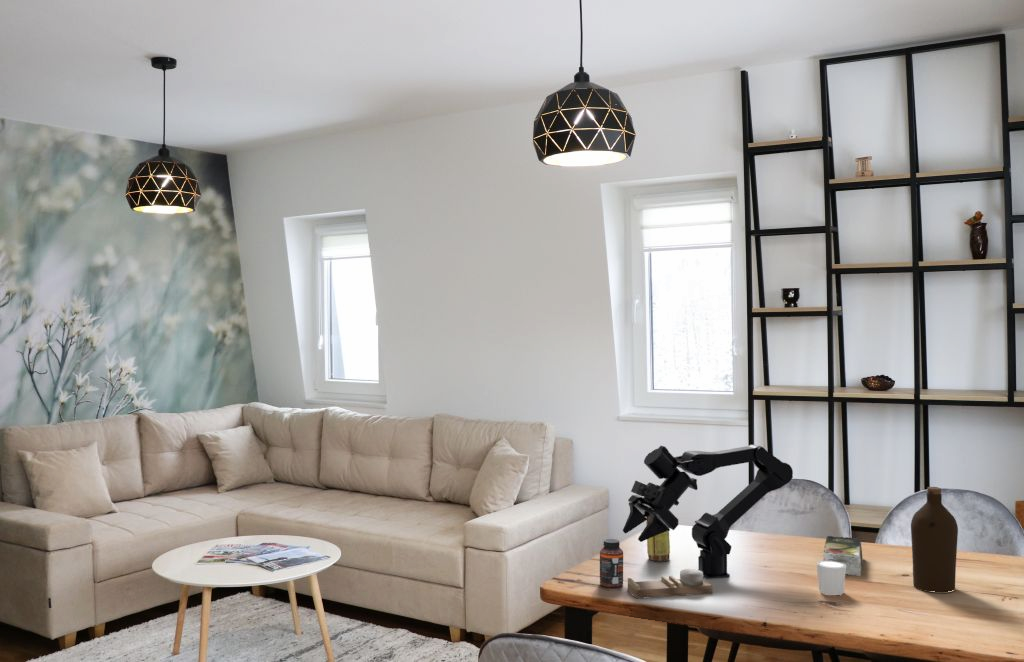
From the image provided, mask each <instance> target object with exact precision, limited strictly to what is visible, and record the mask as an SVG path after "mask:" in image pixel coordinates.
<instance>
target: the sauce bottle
mask: <svg viewBox="0 0 1024 662" xmlns="http://www.w3.org/2000/svg"><path fill="white" fill-rule="evenodd" d="M646 518H647V520H646V521H645V522H646V525H645V527H646V526H647V524H648V523H649V521H650V516H649V517H646ZM646 548H647V549H646V550H647V557H648V560H650V561H653V562H659V561H662V562H667V561H669V560H670V555H671V554H670V553H671V546H670V531H666V532H663V533H661V534H658V535H656V536H654V537H651V538H649V539H647V540H646Z"/></svg>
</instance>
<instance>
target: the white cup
mask: <svg viewBox="0 0 1024 662" xmlns="http://www.w3.org/2000/svg"><path fill="white" fill-rule="evenodd" d="M816 571H817V580H818V581H817V582H818V583H817V584H818V591H820V592H821V593H820V592H819V593H820V594H822V593H823V594H822V595H825V594H827V595H826V596H830V595H840V596H843V595H844V594H843V593H845V583H846V575H845V574H846V565H845V564H843V563H841V562H836V561H824V560H821V561H820V560H819V561H817V562H816ZM842 594H843V595H842Z"/></svg>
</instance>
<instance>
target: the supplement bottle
mask: <svg viewBox="0 0 1024 662" xmlns="http://www.w3.org/2000/svg"><path fill="white" fill-rule="evenodd" d="M602 545H603V547H602V548H600V550H599V584H600V585H601V586H602V587H605V588H611V587H616V588H619V587H621V586H623V585H624V550H623V549H622V548H621V547H620V545H621V544H620V540H619V539H615V538H605V539H604V540H603V544H602Z"/></svg>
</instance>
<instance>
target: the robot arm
mask: <svg viewBox="0 0 1024 662" xmlns="http://www.w3.org/2000/svg"><path fill="white" fill-rule="evenodd" d="M746 463H753V465H754V466H755V468H757V469H758V470H757V471H756V474H755V477H754V479H753V481H751V482H750V483H749V484H748V485H747V486H745V488H744V489H742V491H740V492H739V493H738V494H737V495H736V496H734V497H733V498H732V500H730V501H729V502H728V503H727V504H726V505H725V506H723V508H721V509H720V510H719V511H718V512H717V513H715V514H711V513H709V512H705V513H703V514H702V516H701V517H700V518H699V519H696V520H694V523H695V524H694V525H692V527H691V537H692V540H693V541H694V542H695V544H696V545H697V548H698V549H700V551H699V556H698V557H697V558H698V561H697V564H698V567H697V568H698V569H697V570H700V571H702V572H703V577H704V578H706V579H713V578H729V577H730V576H731V575H730V574H729V572H728V555H730V553H731V551H732V545H731V544H730V543H729V542H728V541H727V540H726V538H727V537H728V534H729V531H730V528H731V527H732V526H733V525H734V524H735V523H737V521H738V520H740V518H742V517H743V516H744V515H745V514H746V513H747V512H748V511H749V510H750V509H752V507H754V506H755V505H756V504H757V503H758V502H760V500H762V499H763V498H764V497H765V496H766V495H767V494H768V493H771V492H774V491H777V490H780V489H781V488H782V487H784V486H786V485H787V484H788V483H791V481H792V480H793V474H794V472H793V471H794V470H793V468H792V466H791V465H790V464H788V463H787V462H784V461H781V459H779V458H777V457H776V456H774V455H773V454H771V452H769V451H768V450H767V449H766V448H765V447H763V446H760V445H757V444H749V445H748V446H741V447H734V448H730V449H723V450H717V451H701V450H687V451H684V452H683V453H682V455H678V456H674V455H673V454H671V452H670V451H669V450H668V448H667V447H666V446H664V445H660V446H659V447H658V448H655V449H653V450H652V451H650V452H649V453H648V454H647V455H646V456H645V458H644V460H643V464H644V465H645V466H646V467H647V468H648V469H649V470H650V471H651V473H653V474H654V475H655V476H656V477H657V479H659V480H661V479H664V481H662V482H661V484H654V483H653V482H648V483H647V484H645V483H642V482H641V481H638V480H635V481H634V483H633V484H632V487H631V490H630V492H631V493H633V494H632V495H631V496H630V497H629V498H628V500H627V501H628V507H629V514H628V516H627V518H626V522H625V524H624V526H623V528H622V532H623V533H624V534H627V533H630V532H631V531H632V530H634V529H635V528H637V527H638V526H640V525H641V524H642V523H645V522H647V517H649V516H650V521H649V523H648V524H647V526H646V525H645V527H644V529H642V532H641V533H640V534H639V536H638V538H637V539H638V542H640V543H642V542H645V541H647V539H649V538H651V537H654V536H656V535H658V534H661V533H663V532H666V531H669V532H671V530H672V531H674V530H676V528H677V527H678V526H679V518H678V517H677V516H675V515H674V513H673V512H671V508H672V507H673V506H678V505H679V504H680V502H679V499H680V498H681V496H682V495H683V494H684V493H685V492H686V491H687V490H688V489H689V488H690V489H692V490H695V491H697V490H698V483H697V482H698V479H697V478H694V477H691V476H690V475H689V474H691V475H694V476H698V477H701V476H705V475H707V474H710V473H712V472H714V471H715V470H717V469H719V468H723V467H724V468H725V467H730V466H735V465H740V464H746ZM680 469H681V470H682V471H681V470H680Z"/></svg>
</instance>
